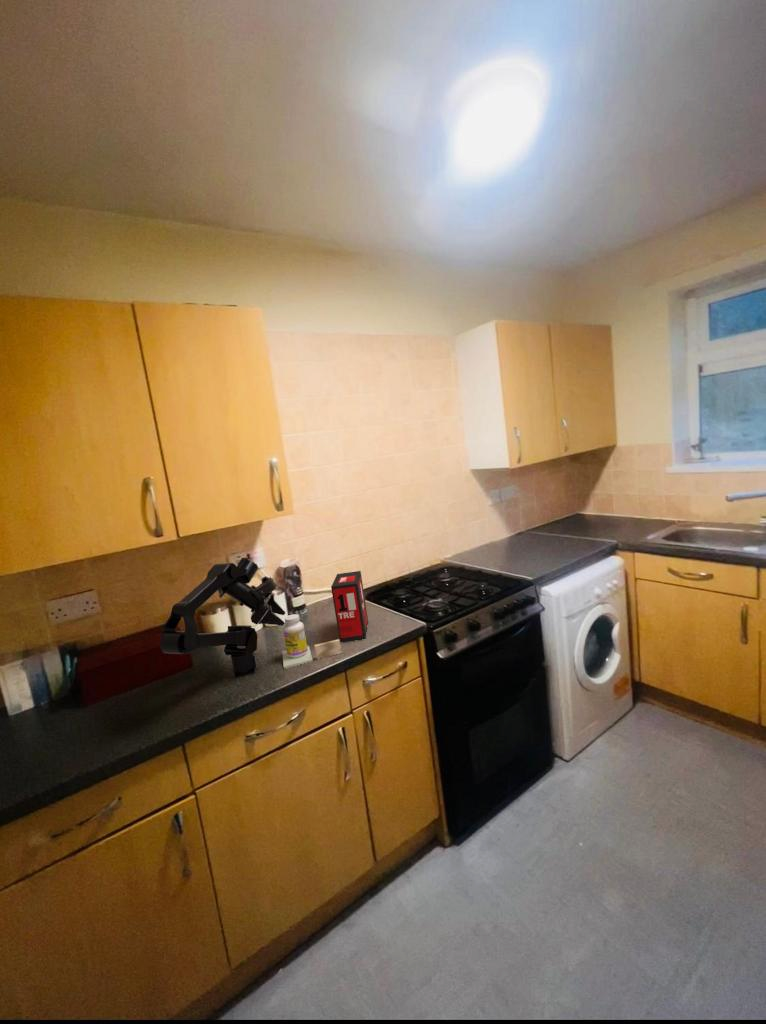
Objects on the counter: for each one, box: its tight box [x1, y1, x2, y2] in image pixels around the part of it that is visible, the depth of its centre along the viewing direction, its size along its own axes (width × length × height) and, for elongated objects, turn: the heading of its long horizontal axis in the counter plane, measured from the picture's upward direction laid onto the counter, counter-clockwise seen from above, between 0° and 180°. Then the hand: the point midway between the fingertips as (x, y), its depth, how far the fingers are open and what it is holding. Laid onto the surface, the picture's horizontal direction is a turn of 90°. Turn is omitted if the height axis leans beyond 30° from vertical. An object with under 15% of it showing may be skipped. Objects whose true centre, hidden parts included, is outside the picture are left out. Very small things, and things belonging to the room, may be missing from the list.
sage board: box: [281, 645, 314, 670], centre depth 144 cm, size 9×12×1 cm
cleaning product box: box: [330, 570, 369, 643], centre depth 158 cm, size 16×9×20 cm, turn 179°
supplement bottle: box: [282, 613, 308, 658], centre depth 144 cm, size 7×7×13 cm
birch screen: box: [314, 638, 342, 660], centre depth 142 cm, size 8×1×4 cm, turn 105°
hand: (284, 618), depth 143 cm, fingers open, 9 cm apart
